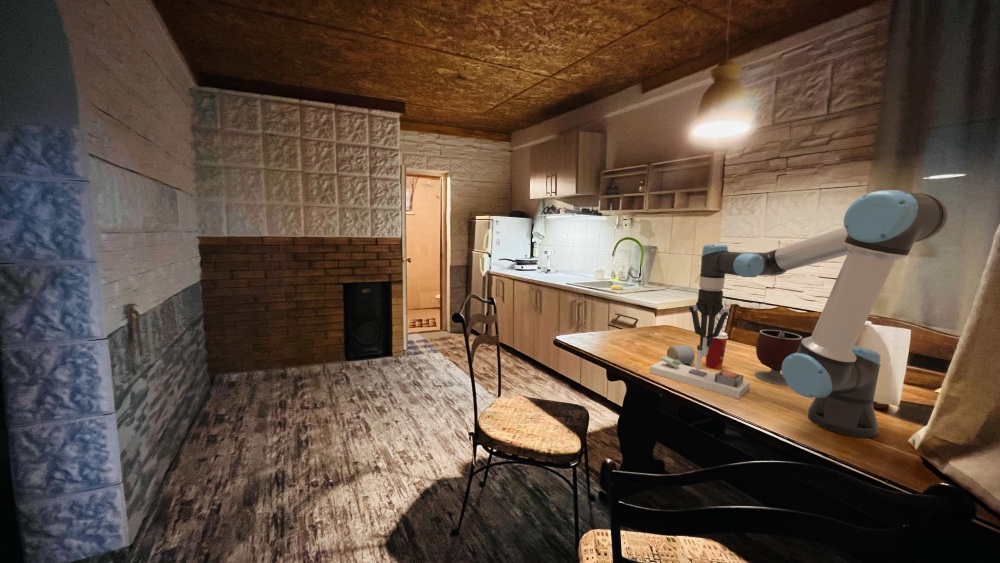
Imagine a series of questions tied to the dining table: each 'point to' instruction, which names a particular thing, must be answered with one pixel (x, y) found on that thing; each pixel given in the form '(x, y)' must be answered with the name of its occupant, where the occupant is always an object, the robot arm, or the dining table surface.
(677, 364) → the green rocker
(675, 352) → the ceramic mug
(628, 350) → the dining table surface
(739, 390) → the panel
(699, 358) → the metal lever
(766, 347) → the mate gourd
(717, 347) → the paper cup
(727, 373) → the terracotta button
